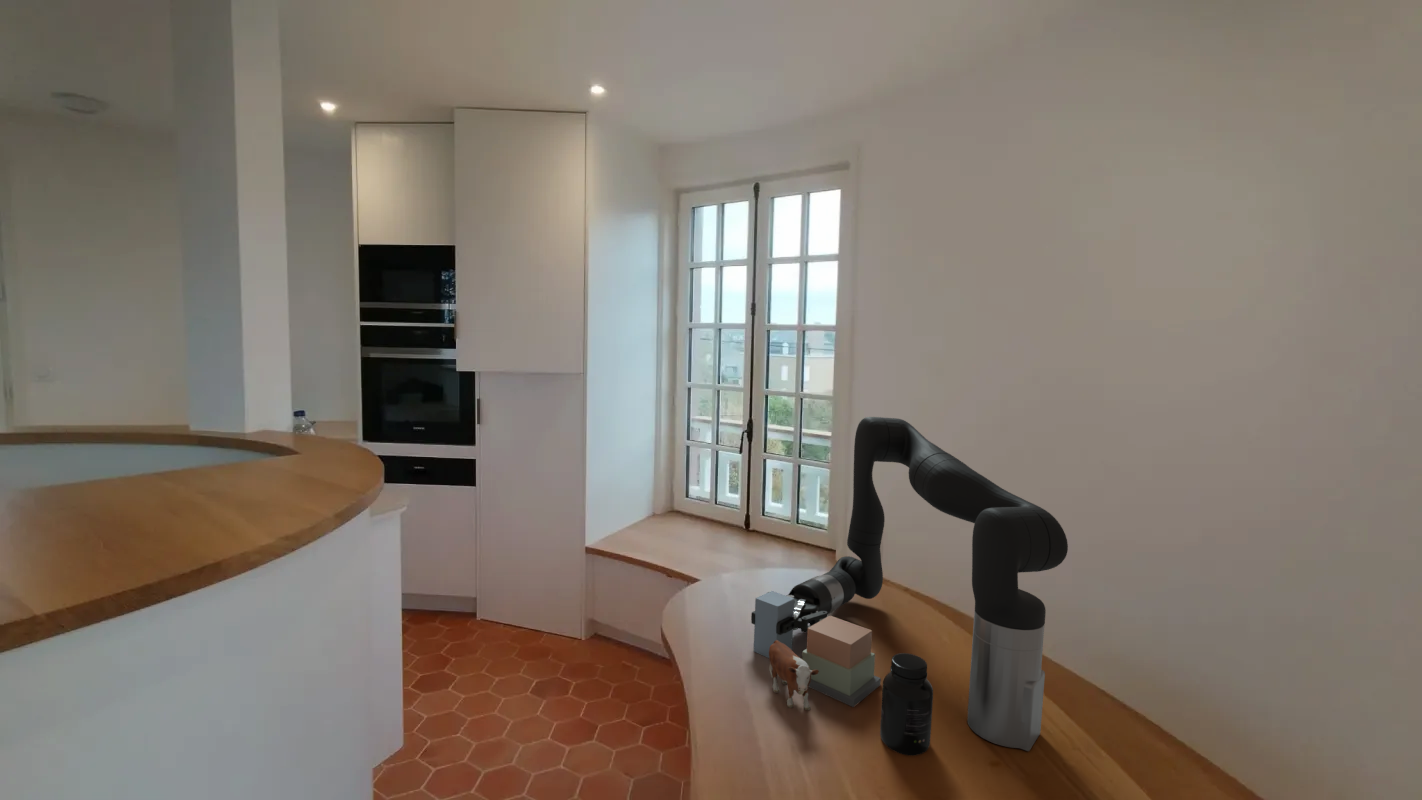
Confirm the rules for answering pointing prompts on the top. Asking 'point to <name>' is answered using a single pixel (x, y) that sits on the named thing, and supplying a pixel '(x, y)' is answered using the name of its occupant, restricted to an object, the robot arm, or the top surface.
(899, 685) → the supplement bottle
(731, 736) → the top surface
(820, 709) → the top surface
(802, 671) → the bull figurine
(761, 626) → the column brick
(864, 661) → the brick tower
